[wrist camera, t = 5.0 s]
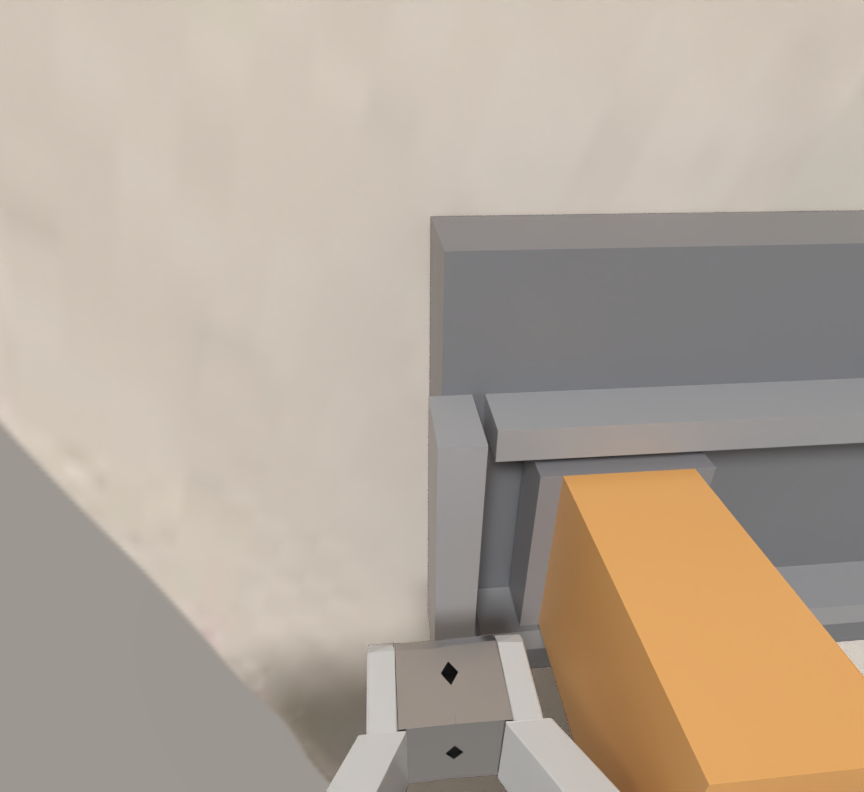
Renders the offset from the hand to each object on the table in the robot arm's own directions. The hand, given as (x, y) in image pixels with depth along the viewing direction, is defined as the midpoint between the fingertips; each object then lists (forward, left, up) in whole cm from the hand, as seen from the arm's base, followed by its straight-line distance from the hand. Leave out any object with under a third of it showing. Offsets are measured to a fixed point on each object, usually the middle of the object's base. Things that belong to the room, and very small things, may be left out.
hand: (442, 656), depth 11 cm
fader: (0, +4, -4) cm, 6 cm away
